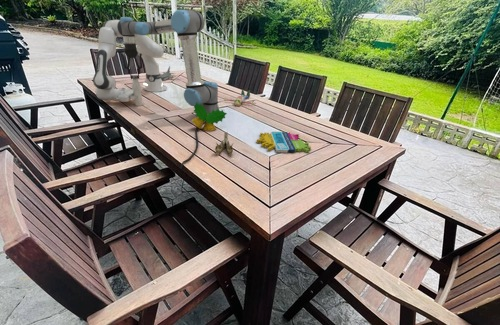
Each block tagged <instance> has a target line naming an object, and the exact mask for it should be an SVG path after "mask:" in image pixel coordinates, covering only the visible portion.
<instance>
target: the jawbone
mask: <svg viewBox="0 0 500 325" xmlns="http://www.w3.org/2000/svg"><path fill="white" fill-rule="evenodd" d="M223 135H224V136H223V140H222V139H221V142H220V144H218V142H215V144H216V146H215V148H214V149H215V152H214V154H215V155H217V156H218V155H220V153H221V152H223V151H224V150H226V152H227V153H228V155H229V156H233V155H234V154H233V153H234V148H233V144H234V143H230V140H228V139H229V138H228V137H229V136H228V135H229V133H228V131H226V132H224V134H223Z"/></svg>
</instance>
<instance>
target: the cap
mask: <svg viewBox="0 0 500 325" xmlns="http://www.w3.org/2000/svg"><path fill="white" fill-rule="evenodd" d="M131 76H132V79H131V80H133V79H138V74H131ZM138 80H139V79H138Z"/></svg>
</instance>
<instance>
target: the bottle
mask: <svg viewBox="0 0 500 325" xmlns="http://www.w3.org/2000/svg"><path fill="white" fill-rule="evenodd" d="M131 88H132V90H133V95H134V96H138V98H137V99H133V101H134V106H136V107H137V106H138V107H140V106H143V105H144V102H143V95H142V88H141V83H140V81H139V79H132V83H131Z"/></svg>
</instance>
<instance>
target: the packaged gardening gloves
mask: <svg viewBox="0 0 500 325" xmlns="http://www.w3.org/2000/svg"><path fill="white" fill-rule="evenodd" d="M299 136H300V135H299V134H298V133H296V134H294V133H291V132H287V131H270V132H264V133H263V132H260V133H259V139H258V138H257V139H256V143H257V144H261V148H263V147H264V148H265V149H267V151H268V152H271V151H272V150H273V149H275V152H276V153H283V154H285V153H287V154H288V153H290V154H293V153H296V152H298V153H301V152H305V153H310V151H311V150H312V149H311V148H312V146H309V142H304V141H303V139H302V138H299Z"/></svg>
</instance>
